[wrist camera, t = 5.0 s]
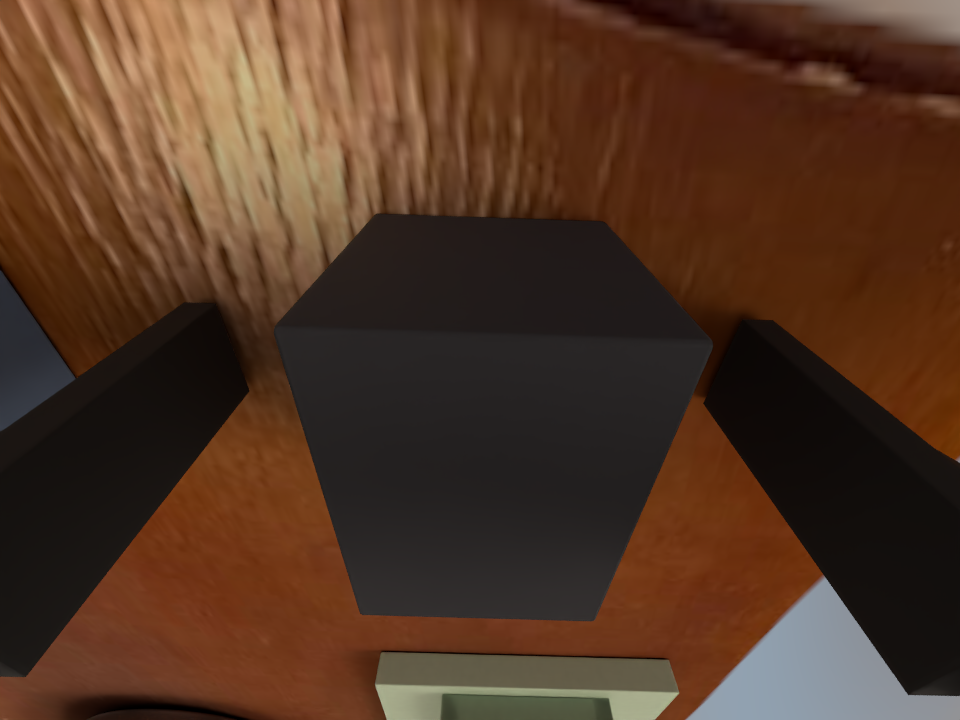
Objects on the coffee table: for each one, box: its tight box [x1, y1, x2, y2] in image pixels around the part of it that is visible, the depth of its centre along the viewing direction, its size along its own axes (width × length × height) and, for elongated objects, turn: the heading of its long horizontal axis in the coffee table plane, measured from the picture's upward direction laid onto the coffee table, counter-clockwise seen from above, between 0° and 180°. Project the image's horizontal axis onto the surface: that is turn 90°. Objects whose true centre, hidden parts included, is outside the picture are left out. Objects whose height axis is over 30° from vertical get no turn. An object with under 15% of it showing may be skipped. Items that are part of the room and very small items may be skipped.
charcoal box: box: [274, 214, 713, 621], centre depth 8 cm, size 5×7×5 cm
